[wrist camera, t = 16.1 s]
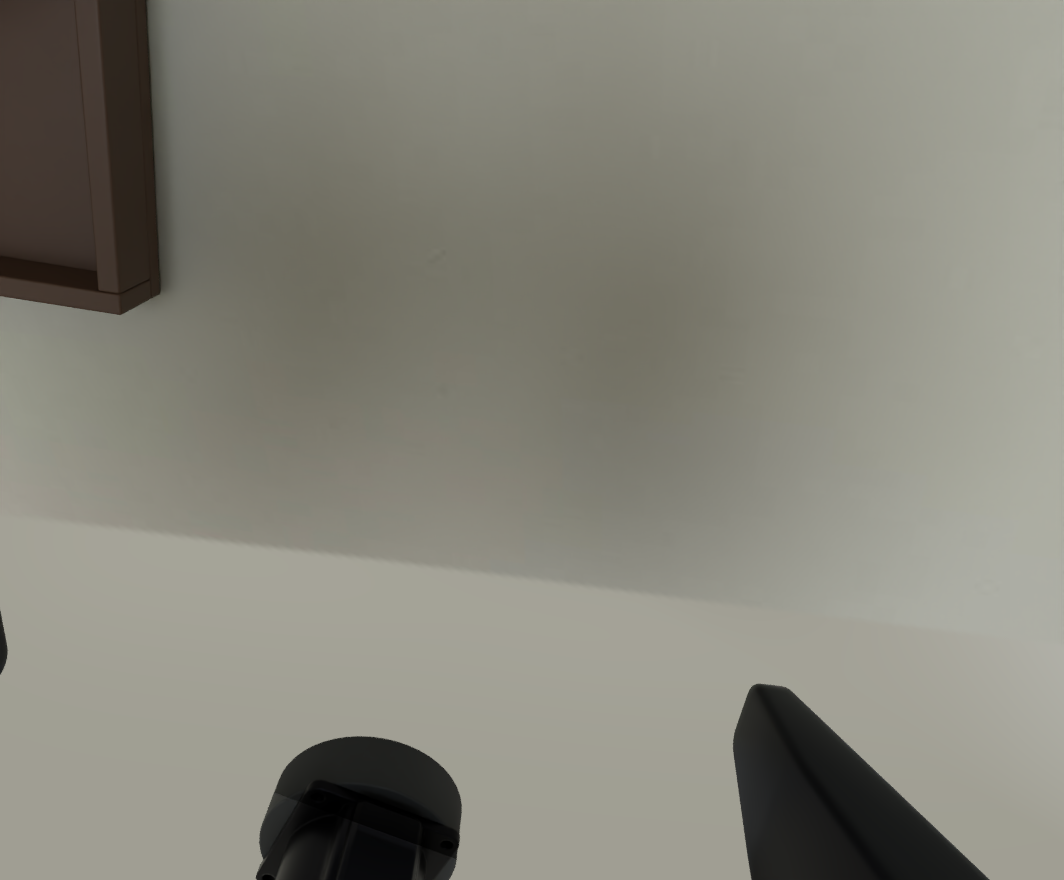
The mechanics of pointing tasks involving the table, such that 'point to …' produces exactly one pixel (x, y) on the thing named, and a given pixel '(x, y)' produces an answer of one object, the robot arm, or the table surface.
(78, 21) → the walnut tray
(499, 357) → the table surface
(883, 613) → the table surface
